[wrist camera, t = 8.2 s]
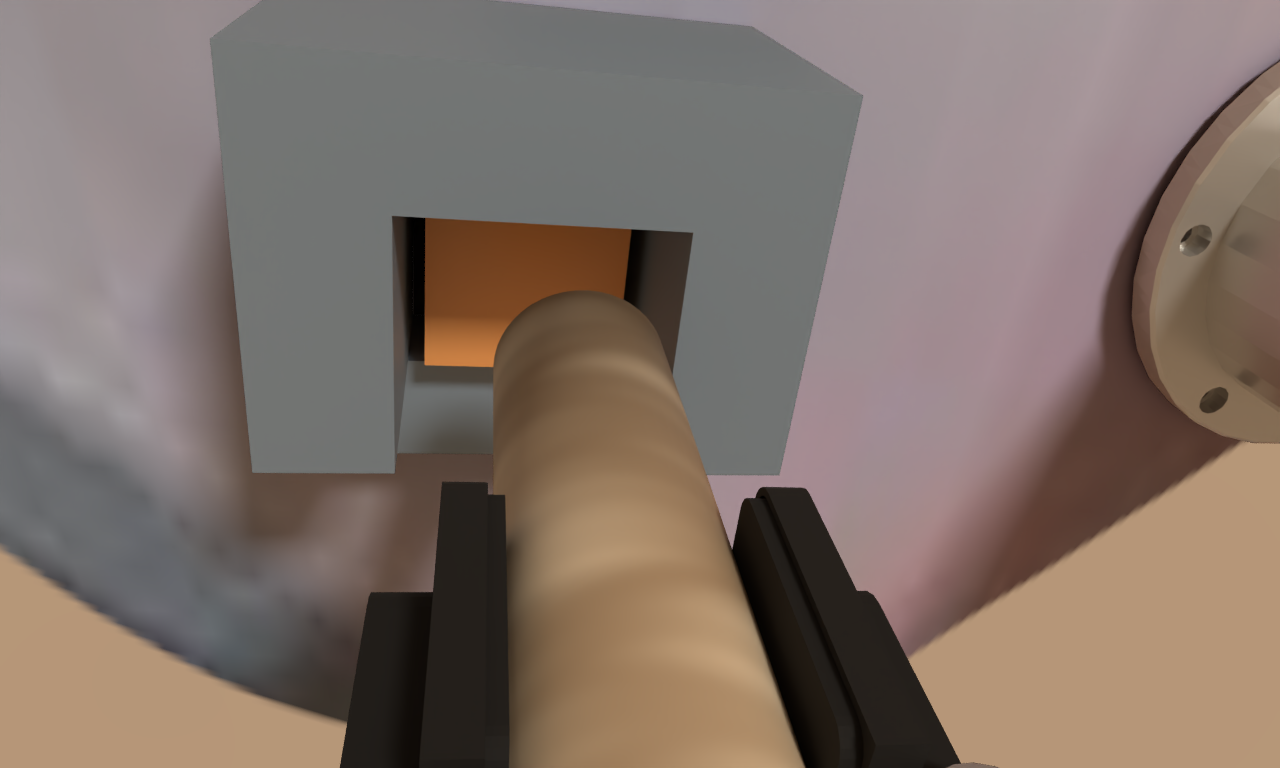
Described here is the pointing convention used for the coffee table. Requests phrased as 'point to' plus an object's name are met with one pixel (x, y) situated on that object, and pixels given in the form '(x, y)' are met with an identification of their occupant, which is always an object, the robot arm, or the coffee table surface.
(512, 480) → the stylus
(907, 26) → the coffee table surface
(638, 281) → the switch box
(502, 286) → the button
